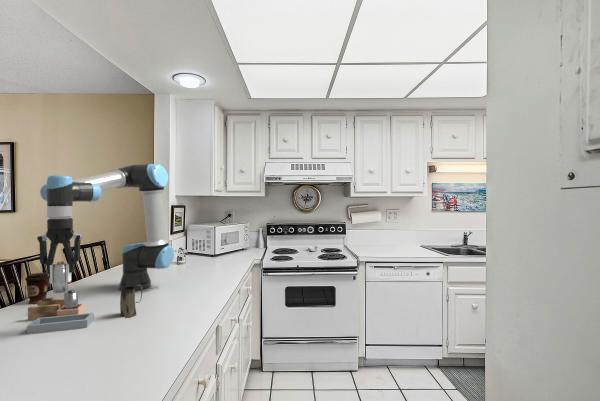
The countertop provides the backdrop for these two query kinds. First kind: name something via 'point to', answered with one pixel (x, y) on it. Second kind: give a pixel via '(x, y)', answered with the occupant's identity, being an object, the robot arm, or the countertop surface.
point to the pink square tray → (72, 310)
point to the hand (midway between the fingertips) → (60, 281)
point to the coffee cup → (37, 286)
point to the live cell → (59, 277)
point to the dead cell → (71, 300)
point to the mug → (128, 302)
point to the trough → (60, 323)
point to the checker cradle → (45, 308)
